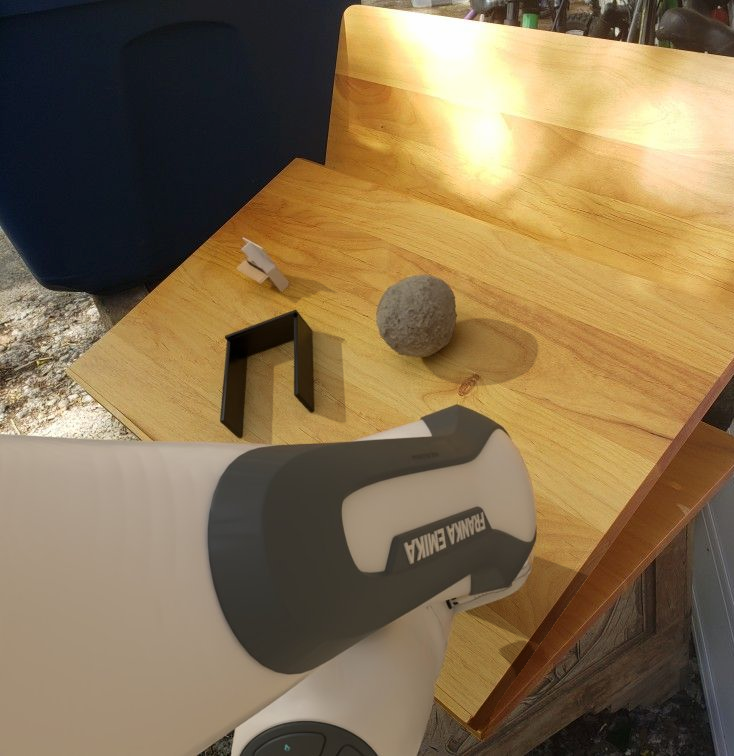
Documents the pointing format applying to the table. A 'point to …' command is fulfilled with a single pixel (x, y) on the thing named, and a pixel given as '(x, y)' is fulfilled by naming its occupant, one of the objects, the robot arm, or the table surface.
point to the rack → (258, 341)
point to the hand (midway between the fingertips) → (422, 549)
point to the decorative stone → (417, 315)
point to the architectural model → (261, 266)
